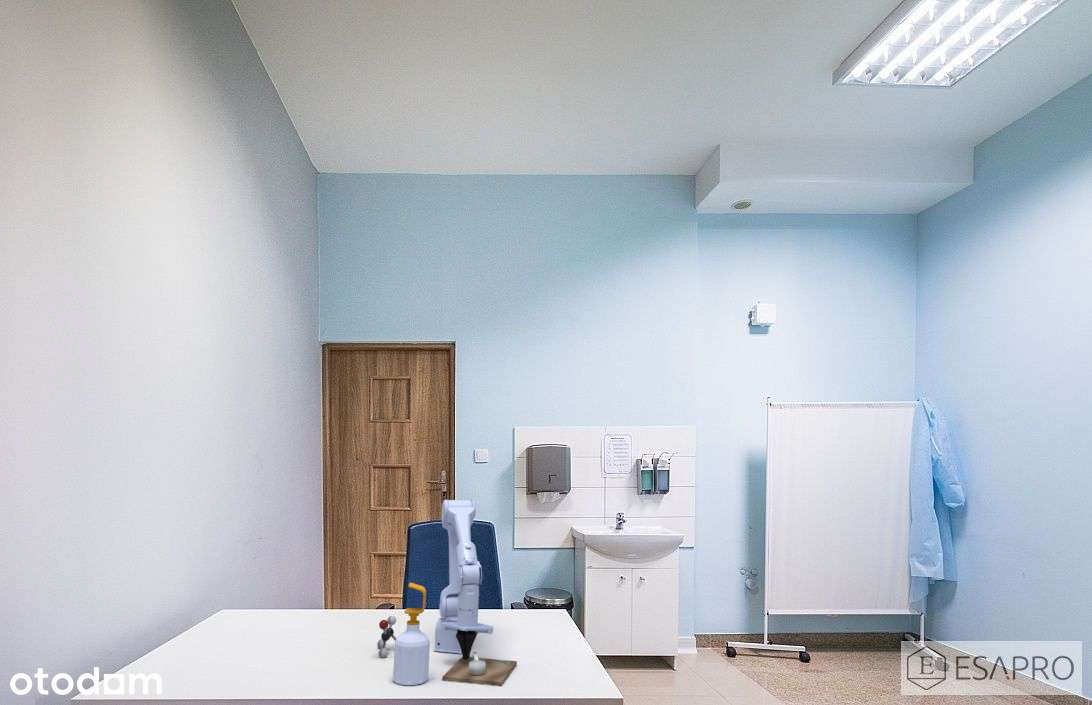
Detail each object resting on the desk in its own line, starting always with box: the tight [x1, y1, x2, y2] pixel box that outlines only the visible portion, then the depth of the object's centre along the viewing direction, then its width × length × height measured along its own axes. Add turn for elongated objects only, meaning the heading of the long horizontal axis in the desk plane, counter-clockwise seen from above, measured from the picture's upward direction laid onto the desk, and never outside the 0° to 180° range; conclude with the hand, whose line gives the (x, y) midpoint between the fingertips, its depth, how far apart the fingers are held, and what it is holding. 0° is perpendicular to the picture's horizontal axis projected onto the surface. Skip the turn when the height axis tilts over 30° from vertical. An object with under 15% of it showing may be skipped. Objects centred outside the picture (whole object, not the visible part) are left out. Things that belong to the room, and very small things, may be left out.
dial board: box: [441, 656, 518, 687], centre depth 199 cm, size 16×18×1 cm
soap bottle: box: [392, 582, 431, 686], centre depth 192 cm, size 9×9×25 cm
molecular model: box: [376, 615, 397, 659], centre depth 214 cm, size 8×12×11 cm
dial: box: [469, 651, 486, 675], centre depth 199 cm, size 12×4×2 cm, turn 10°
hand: (466, 658), depth 204 cm, fingers closed
